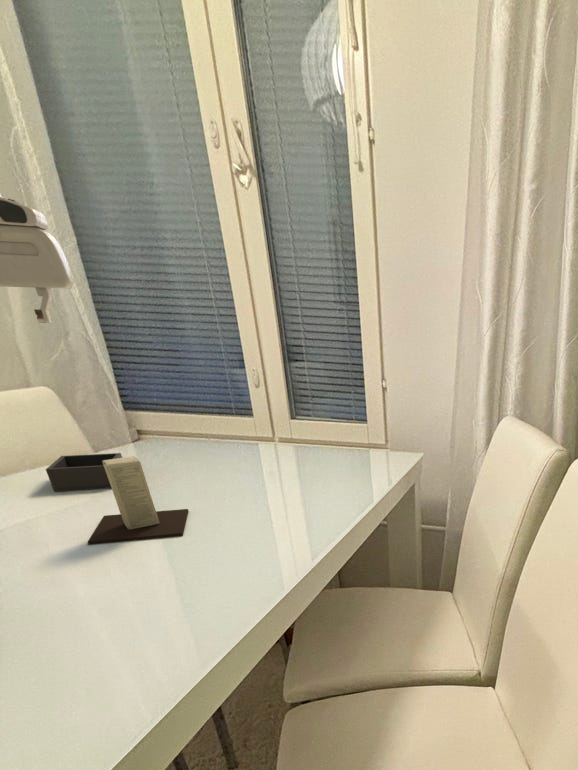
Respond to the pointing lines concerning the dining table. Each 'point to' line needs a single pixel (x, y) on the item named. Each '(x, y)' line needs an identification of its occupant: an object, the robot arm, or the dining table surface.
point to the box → (131, 492)
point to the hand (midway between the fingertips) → (9, 322)
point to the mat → (116, 530)
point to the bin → (80, 472)
